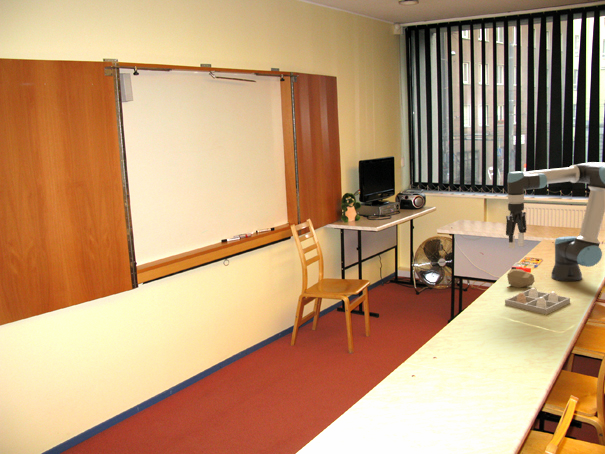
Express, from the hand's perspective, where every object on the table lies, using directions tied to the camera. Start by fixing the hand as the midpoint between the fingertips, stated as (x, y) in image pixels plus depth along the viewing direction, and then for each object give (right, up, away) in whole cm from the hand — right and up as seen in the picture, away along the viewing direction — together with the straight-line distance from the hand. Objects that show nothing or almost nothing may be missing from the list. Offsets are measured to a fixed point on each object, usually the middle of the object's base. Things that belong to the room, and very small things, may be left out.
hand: (516, 246), depth 268 cm
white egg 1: (+6, -26, -7) cm, 27 cm away
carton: (+4, -28, -14) cm, 31 cm away
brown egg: (-3, -28, -12) cm, 30 cm away
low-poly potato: (+8, -23, +14) cm, 28 cm away
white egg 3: (+11, -27, -15) cm, 33 cm away
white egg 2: (+3, -29, -21) cm, 35 cm away
